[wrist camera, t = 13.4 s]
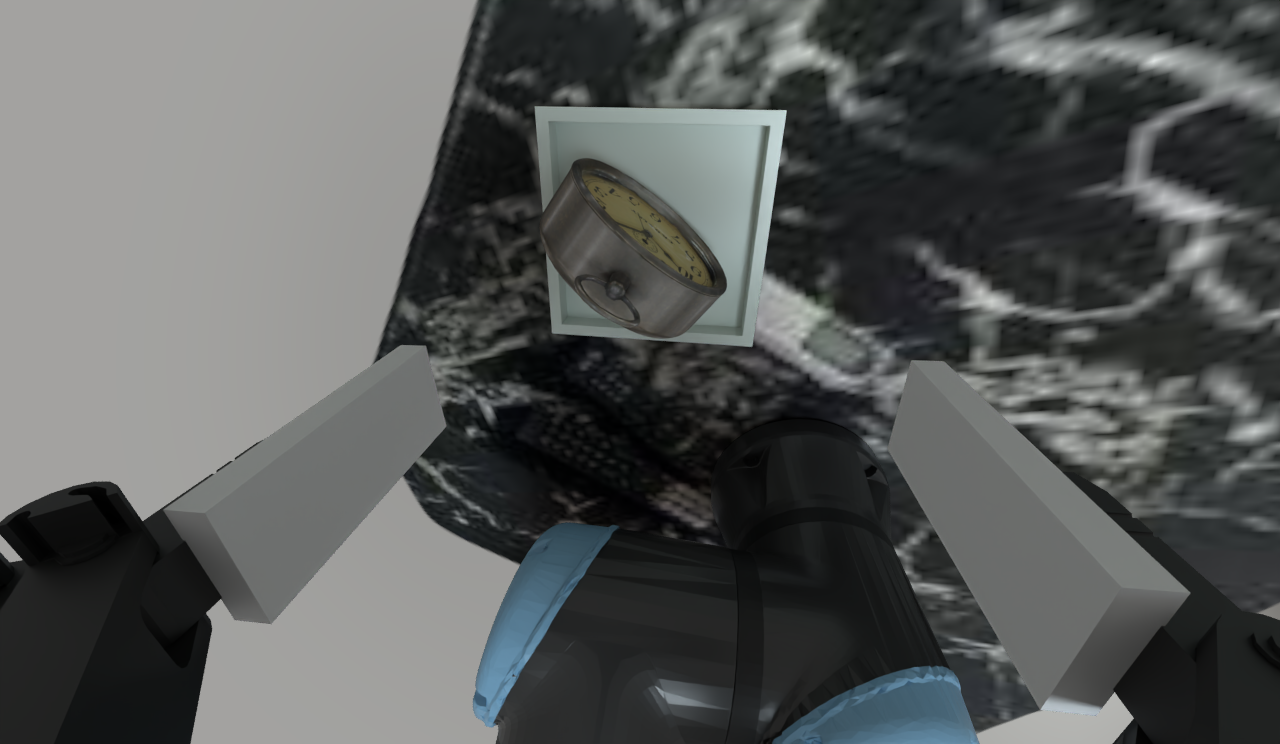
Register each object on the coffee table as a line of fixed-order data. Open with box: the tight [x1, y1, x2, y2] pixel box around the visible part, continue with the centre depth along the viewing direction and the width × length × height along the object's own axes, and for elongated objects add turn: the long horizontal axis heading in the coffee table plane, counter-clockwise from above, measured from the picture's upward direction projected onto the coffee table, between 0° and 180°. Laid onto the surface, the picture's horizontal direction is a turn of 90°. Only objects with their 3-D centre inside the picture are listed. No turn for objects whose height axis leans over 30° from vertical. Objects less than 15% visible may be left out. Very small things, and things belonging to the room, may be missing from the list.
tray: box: [535, 106, 787, 347], centre depth 32 cm, size 15×15×2 cm
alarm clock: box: [540, 158, 727, 339], centre depth 26 cm, size 11×5×16 cm, turn 52°
